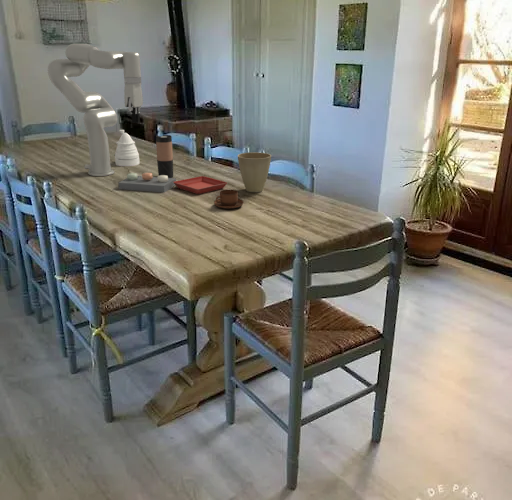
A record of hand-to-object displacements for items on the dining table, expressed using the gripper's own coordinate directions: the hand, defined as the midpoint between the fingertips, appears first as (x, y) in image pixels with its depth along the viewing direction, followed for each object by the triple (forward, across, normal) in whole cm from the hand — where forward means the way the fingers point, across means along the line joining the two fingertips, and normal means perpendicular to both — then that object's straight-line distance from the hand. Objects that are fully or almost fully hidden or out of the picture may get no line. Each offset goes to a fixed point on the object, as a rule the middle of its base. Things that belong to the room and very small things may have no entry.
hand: (136, 122), depth 241 cm
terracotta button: (+24, +12, +10) cm, 29 cm away
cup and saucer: (+28, +32, +54) cm, 68 cm away
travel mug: (+27, -8, +10) cm, 30 cm away
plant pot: (+27, +5, +58) cm, 64 cm away
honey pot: (+27, -31, -22) cm, 47 cm away
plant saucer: (+28, +8, +33) cm, 44 cm away
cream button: (+25, +12, +17) cm, 32 cm away
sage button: (+25, +12, +2) cm, 28 cm away
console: (+27, +12, +10) cm, 31 cm away
